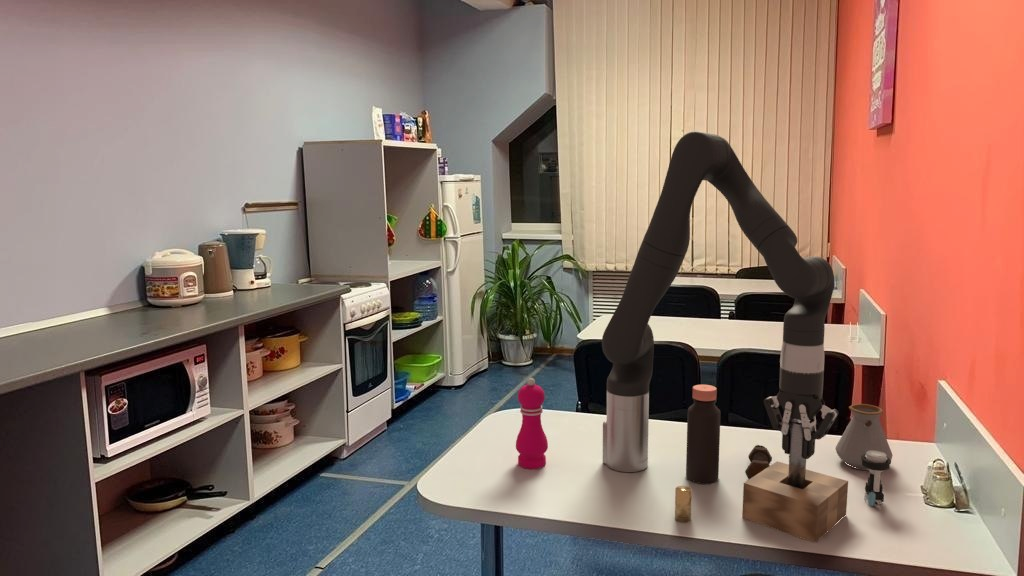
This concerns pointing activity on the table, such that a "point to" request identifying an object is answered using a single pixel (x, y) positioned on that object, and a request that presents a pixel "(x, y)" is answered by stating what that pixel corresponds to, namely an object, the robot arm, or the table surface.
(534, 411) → the pepper mill
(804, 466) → the long pin
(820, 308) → the robot arm
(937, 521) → the table surface
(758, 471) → the bolt
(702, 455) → the bottle
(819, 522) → the hole block
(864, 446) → the coffee pot
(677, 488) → the short pin
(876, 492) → the push button
